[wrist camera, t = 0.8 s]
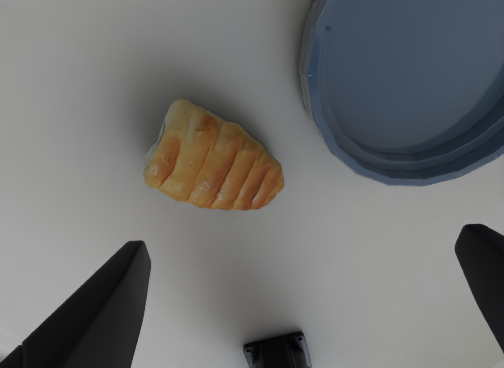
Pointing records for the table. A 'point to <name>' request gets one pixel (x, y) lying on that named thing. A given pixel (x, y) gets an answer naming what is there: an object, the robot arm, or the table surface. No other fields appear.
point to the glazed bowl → (406, 85)
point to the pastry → (210, 162)
